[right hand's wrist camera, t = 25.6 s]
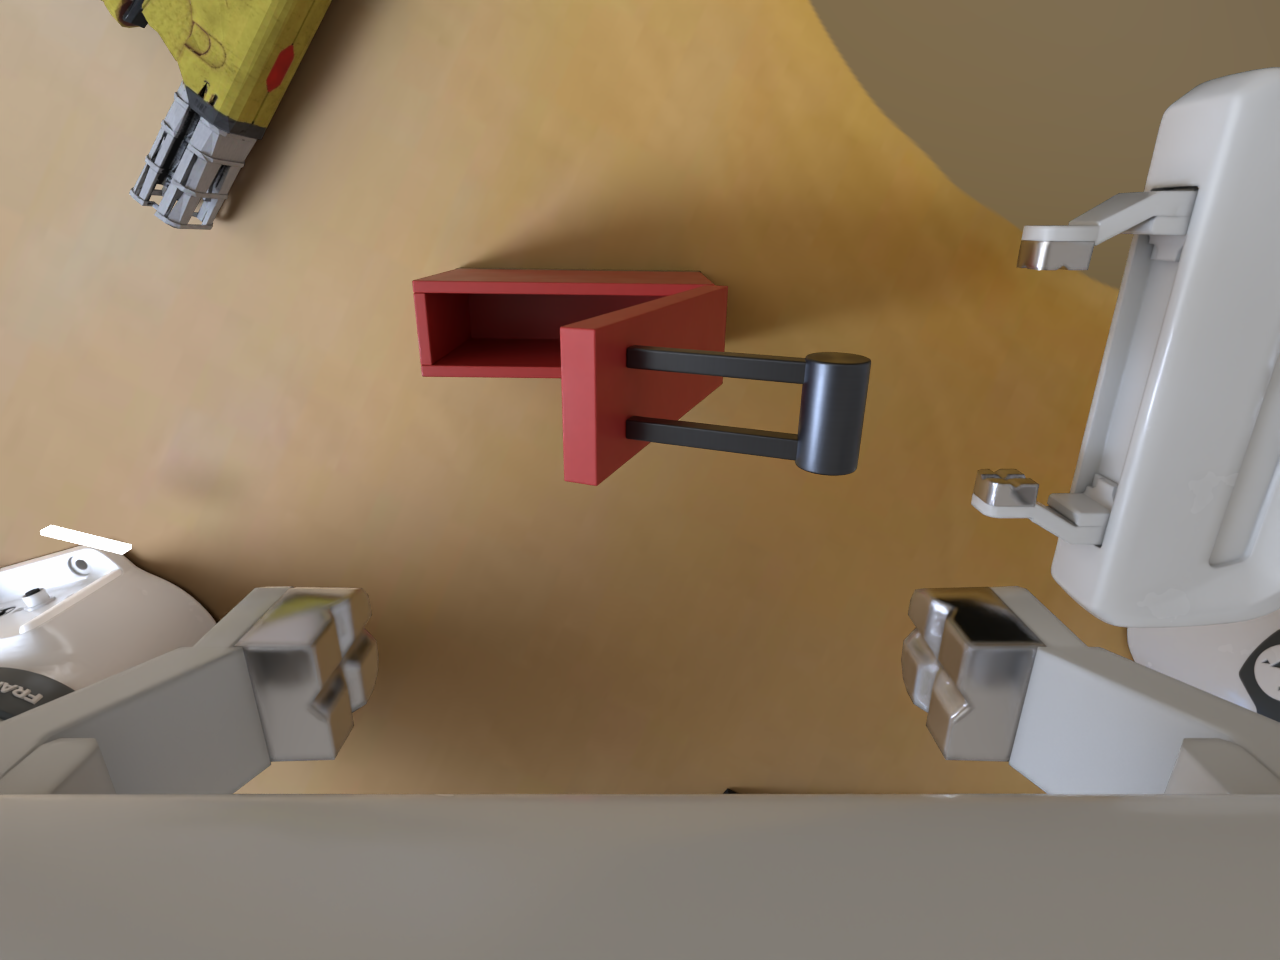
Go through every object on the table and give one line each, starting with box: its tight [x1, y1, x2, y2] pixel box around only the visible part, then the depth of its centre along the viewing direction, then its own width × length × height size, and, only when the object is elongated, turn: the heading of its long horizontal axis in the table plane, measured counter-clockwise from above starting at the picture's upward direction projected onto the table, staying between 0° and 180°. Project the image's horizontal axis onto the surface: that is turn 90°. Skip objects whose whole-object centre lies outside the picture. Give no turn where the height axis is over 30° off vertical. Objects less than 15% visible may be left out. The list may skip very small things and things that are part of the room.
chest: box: [412, 268, 715, 378], centre depth 41 cm, size 16×5×10 cm, turn 89°
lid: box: [560, 285, 871, 486], centre depth 27 cm, size 16×5×9 cm
